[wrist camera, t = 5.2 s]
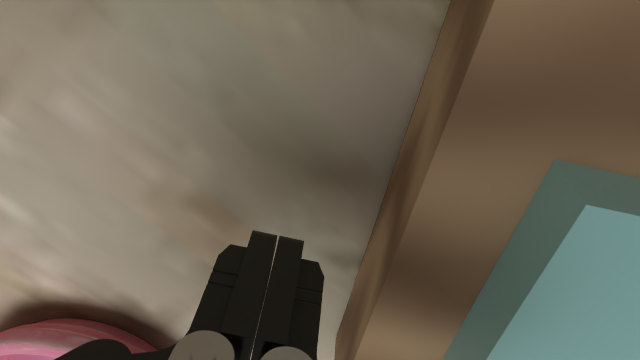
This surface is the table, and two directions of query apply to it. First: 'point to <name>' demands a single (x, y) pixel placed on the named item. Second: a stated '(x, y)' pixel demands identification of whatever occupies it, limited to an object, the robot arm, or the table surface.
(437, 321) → the wooden block
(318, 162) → the table surface
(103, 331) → the pink round bowl
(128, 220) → the table surface
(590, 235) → the teal rectangular block
